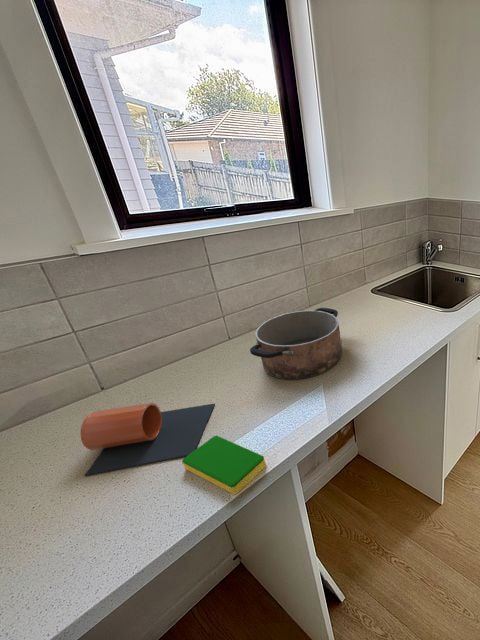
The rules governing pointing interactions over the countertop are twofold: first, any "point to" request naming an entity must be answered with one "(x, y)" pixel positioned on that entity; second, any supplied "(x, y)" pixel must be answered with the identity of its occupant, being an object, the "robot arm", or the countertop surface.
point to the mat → (159, 442)
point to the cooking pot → (299, 343)
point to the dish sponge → (224, 464)
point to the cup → (121, 426)
